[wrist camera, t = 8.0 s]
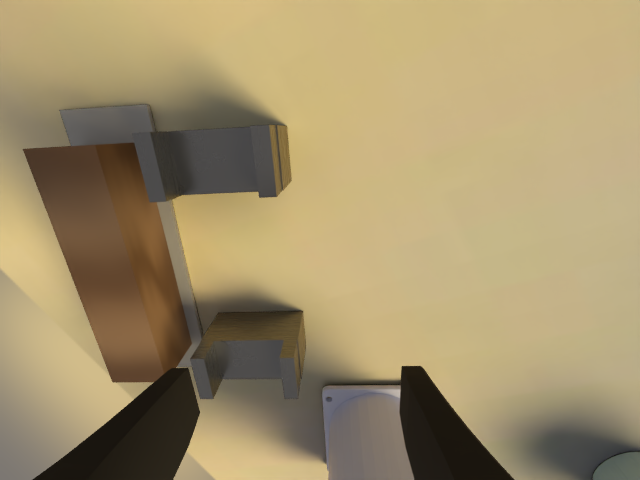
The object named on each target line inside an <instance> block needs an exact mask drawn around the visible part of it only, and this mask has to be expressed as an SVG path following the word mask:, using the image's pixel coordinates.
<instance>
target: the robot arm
mask: <svg viewBox="0 0 640 480" xmlns="http://www.w3.org/2000/svg"><path fill="white" fill-rule="evenodd" d="M328 397H330V398H328ZM322 400H323V414H324V429H325V444H326V459H327V470H328V471H329V477H328V480H514V479H513V478H512V477H511V476H510V474H509V473H508V472H507V471H506V470H505V469H504V468H503V467H502V466H501V465H500V464H499V463H498V462H497V460H496V459H495V458H494V457H493V456H492V455H491V454H490V453H489V451H488V450H487V449H486V448H485V447H484V446H483V445H482V443H481V442H480V441H479V440H478V439H477V438H476V436H475V435H474V434H473V433H472V432H471V430H470V429H469V428H468V427H467V426H466V424H465V423H464V422H463V421H462V419H461V418H460V417H459V416H458V414H457V413H456V412H455V411H454V409H453V408H452V407H451V406H450V404H449V403H448V402H447V400H446V399H445V398H444V396H443V395H442V394H441V392H440V391H439V390H438V388H437V387H436V386H435V384H434V383H433V381H432V380H431V379H430V377H429V376H428V374H427V373H426V371H425V370H424V369H423V368H422V367H421V366H402V371H401V385H350V386H325V387H324V388H323V389H322ZM199 414H200V411H199V407H198V403H197V399H196V395H195V392H194V388H193V384H192V380H191V377H190V373H189V369H188V368H171V369H170V370H168V371H167V372H166V373H165V374H163V375H162V376H161V377H160V378H159V379H157V380H156V381H155V382H154V383H153V384H152V385H150V386H149V387H148V388H147V389H146V390H145V391H143V392H142V393H141V394H140V395H139V396H138V397H136V398H135V399H134V400H133V401H132V402H131V403H129V404H128V405H127V406H126V407H125V408H124V409H122V410H121V411H120V412H119V413H118V414H116V415H115V416H114V417H113V418H112V419H111V420H109V421H108V422H107V423H106V424H104V425H103V426H102V427H101V428H99V429H98V430H97V431H96V432H94V433H93V434H92V435H91V436H90V437H88V438H87V439H86V440H85V441H83V442H82V443H81V444H79V445H78V446H77V447H76V448H74V449H73V450H72V451H71V452H69V453H68V454H67V455H65V456H64V457H63V458H61V459H60V460H59V461H58V462H56V463H55V464H54V465H52V466H51V467H49V468H48V469H47V470H46V471H44V472H43V473H41V474H40V475H38V476H37V477H36V478H34V479H33V480H173V478H174V476H175V474H176V472H177V470H178V468H179V466H180V463H181V461H182V459H183V457H184V455H185V453H186V450H187V448H188V446H189V443H190V440H191V438H192V435H193V432H194V429H195V426H196V423H197V420H198V417H199Z"/></svg>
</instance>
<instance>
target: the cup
mask: <svg viewBox="0 0 640 480" xmlns="http://www.w3.org/2000/svg"><path fill="white" fill-rule="evenodd" d="M593 480H640V452H628V453H623V454H619V455H616V456H614V457H611V458H610V459H607V460H606V461H604V462H603V463H602V464H601V465H599V467H598V468H597V469H596V470H595V472H594V474H593Z"/></svg>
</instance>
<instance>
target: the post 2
mask: <svg viewBox="0 0 640 480" xmlns="http://www.w3.org/2000/svg"><path fill="white" fill-rule="evenodd" d="M305 349H306V342H305V330H304V319H303V311H281V312H231V313H218V314H217V316H216V317H215V319H214V321H213V322H212V324H211V325H210V327H209V328H208V330H207V332H206V333H205V335H204V336H203V338H202V339H201V342H200V344H199V345H198V347H197V349H196V350H195V352H194V353H193V355H192V357H191V358H190V361H191V365H192V368H193V372H194V376H195V380H196V384H197V388H198V392H199V396H200V399H214V396H215V394H216V392H217V390H218V387H219V385H220V383H221V381H222V379H282V382H283V390H284V397H285V399H298V396H299V389H300V381H301V379H302V372H303V364H304V357H305Z"/></svg>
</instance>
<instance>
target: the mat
mask: <svg viewBox="0 0 640 480" xmlns="http://www.w3.org/2000/svg"><path fill="white" fill-rule="evenodd" d="M59 111H60V114H61V117H62V120H63V123H64V126H65V129H66V132H67V135H68V138H69V141H70V144H71V146H81V145H98V144H116V143H133V142H134V140H133V136H132V133H139V132H156V130H155V126H154V122H153V117H152V113H151V109H150V105H147V104H146V105H130V106H115V107H100V108H84V109H69V110H59ZM157 205H158V209H159V213H160V217H161V221H162V225H163V229H164V233H165V237H166V241H167V245H168V249H169V253H170V257H171V261H172V265H173V269H174V273H175V277H176V281H177V285H178V289H179V293H180V297H181V301H182V305H183V309H184V313H185V317H186V321H187V325H188V329H189V333H190V337H191V341H192V345H191V346H190V348H189V349H188V351H187V352H186V354H185V355H184V357H183V358H182V360H181V361H180V363H179V364H178V366H177V367H192V365H191V361H190V358H191V357H192V355H193V353H194V352H195V350H196V349H197V347H198V345H199V344H200V342H201V339H202V338H203V334H202V329H201V325H200V321H199V316H198V312H197V308H196V303H195V299H194V295H193V290H192V286H191V282H190V277H189V273H188V269H187V264H186V260H185V256H184V251H183V247H182V243H181V238H180V234H179V230H178V226H177V221H176V217H175V213H174V208H173V204H172V200H169V201H167V202H157Z"/></svg>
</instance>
